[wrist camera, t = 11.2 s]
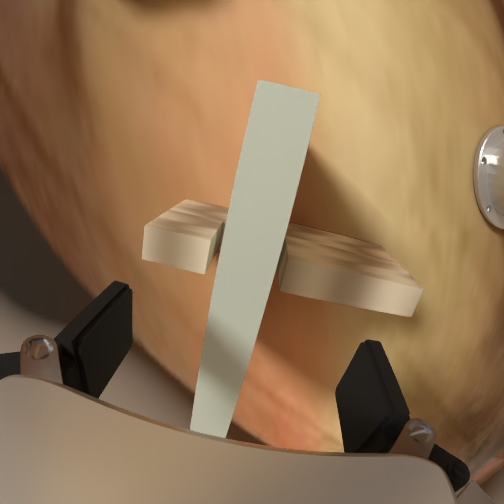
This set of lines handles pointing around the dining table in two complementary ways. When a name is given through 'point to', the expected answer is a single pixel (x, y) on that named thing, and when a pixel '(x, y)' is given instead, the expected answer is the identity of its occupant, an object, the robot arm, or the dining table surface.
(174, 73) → the dining table surface
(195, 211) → the maple board
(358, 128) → the dining table surface
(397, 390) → the robot arm
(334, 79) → the dining table surface
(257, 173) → the sage plate
